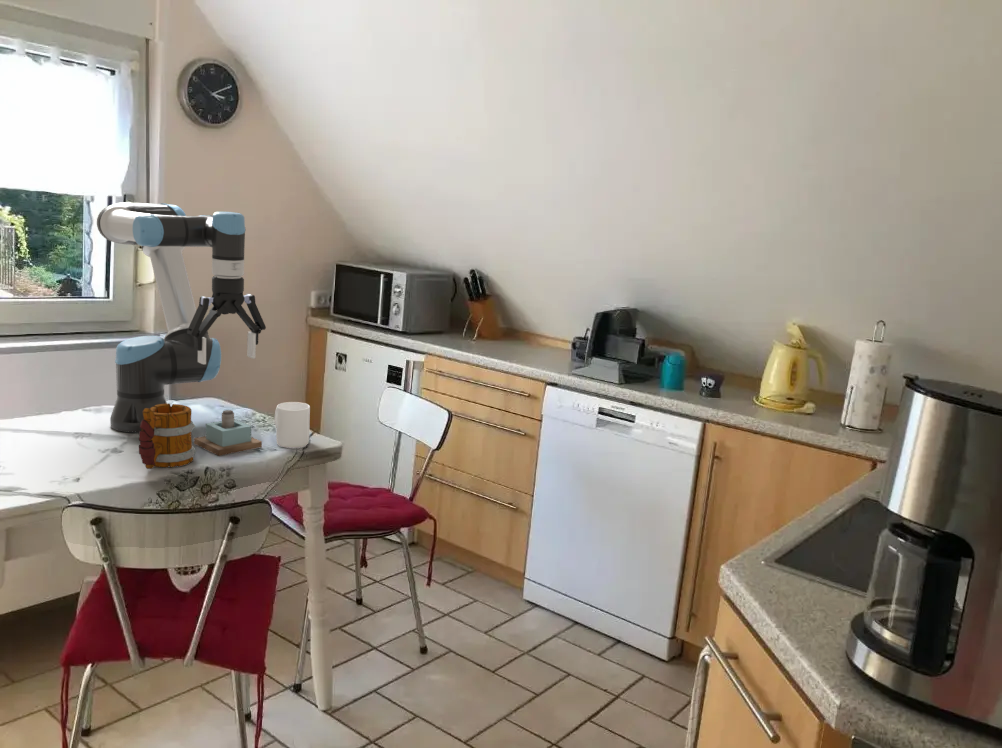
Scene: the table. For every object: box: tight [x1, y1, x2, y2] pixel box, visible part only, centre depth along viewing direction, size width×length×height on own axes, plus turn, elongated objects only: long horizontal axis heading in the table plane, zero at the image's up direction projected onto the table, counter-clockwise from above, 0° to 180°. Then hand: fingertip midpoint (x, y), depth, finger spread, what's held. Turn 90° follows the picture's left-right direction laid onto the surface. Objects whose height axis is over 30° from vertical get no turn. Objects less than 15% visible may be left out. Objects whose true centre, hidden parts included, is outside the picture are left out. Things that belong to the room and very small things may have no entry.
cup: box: [274, 401, 311, 449], centre depth 222 cm, size 8×12×10 cm
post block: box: [193, 409, 263, 457], centre depth 216 cm, size 12×12×9 cm
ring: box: [205, 418, 252, 447], centre depth 216 cm, size 8×8×4 cm
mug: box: [138, 403, 197, 470], centre depth 199 cm, size 11×16×15 cm, turn 167°
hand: (227, 360), depth 214 cm, fingers open, 13 cm apart
